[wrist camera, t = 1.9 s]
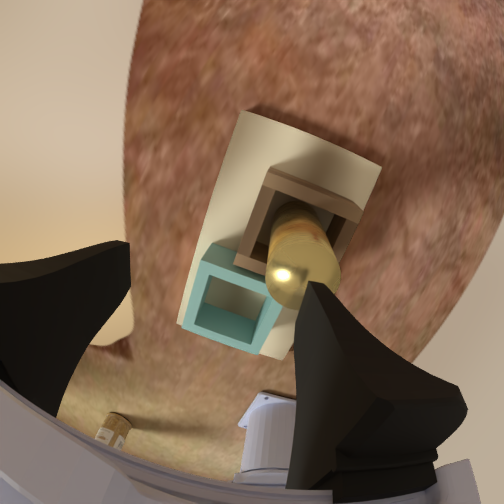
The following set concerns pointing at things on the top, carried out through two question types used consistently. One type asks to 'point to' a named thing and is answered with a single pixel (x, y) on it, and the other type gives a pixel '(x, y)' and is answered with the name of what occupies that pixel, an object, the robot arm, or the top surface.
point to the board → (270, 206)
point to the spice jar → (114, 431)
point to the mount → (343, 208)
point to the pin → (298, 255)
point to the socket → (221, 321)
